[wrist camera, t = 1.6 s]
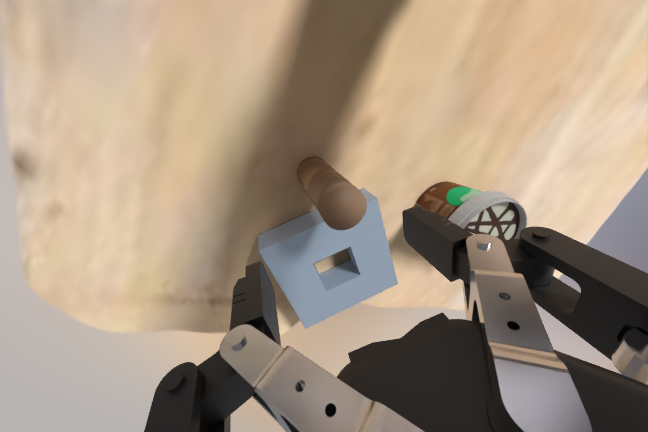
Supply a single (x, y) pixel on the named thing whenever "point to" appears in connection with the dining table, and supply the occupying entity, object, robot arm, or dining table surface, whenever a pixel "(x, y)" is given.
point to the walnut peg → (332, 194)
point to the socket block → (321, 242)
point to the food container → (476, 209)
